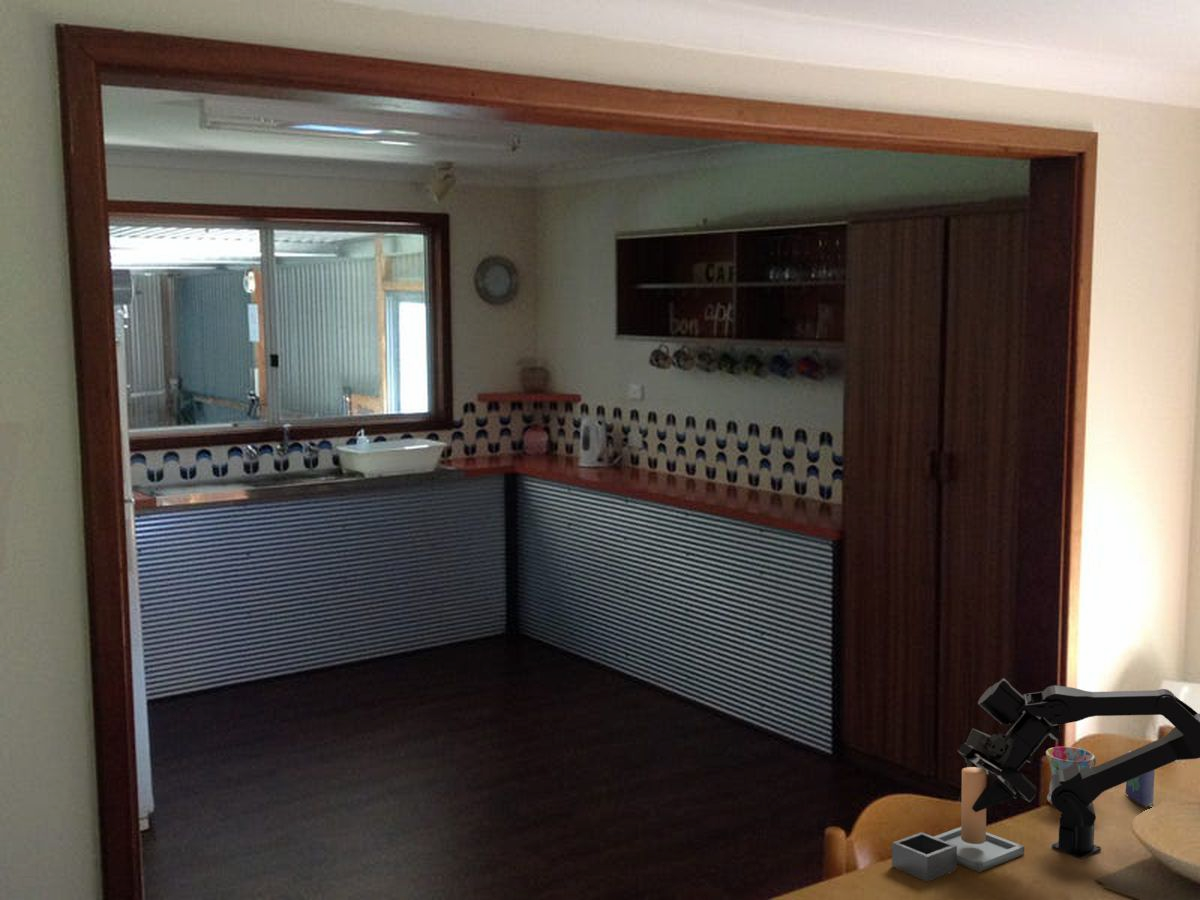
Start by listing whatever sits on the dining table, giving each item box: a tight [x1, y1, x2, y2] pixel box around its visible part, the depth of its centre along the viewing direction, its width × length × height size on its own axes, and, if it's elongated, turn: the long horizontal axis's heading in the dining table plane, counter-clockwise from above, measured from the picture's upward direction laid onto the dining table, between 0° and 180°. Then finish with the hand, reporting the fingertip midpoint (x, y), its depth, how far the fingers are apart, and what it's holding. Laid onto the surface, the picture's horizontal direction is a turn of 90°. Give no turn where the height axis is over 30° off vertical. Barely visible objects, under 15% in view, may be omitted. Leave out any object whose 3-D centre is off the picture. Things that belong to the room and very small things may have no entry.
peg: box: [960, 766, 988, 844], centre depth 238 cm, size 4×4×13 cm
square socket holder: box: [891, 831, 958, 883], centre depth 232 cm, size 8×8×4 cm
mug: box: [1045, 746, 1097, 805], centre depth 262 cm, size 12×9×11 cm
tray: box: [933, 826, 1025, 873], centre depth 239 cm, size 13×13×2 cm
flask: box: [1124, 748, 1155, 809], centre depth 263 cm, size 9×3×11 cm, turn 2°
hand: (967, 805), depth 238 cm, fingers closed on peg, 4 cm apart
